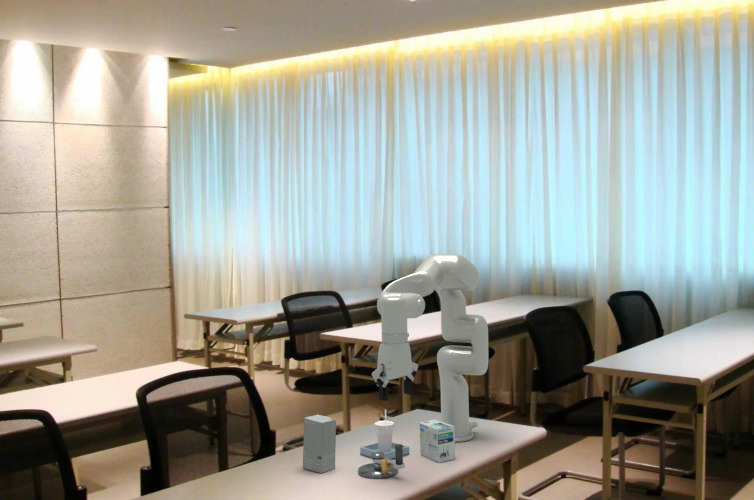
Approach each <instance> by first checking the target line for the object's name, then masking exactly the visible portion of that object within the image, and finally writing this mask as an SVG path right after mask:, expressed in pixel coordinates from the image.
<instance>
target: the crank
mask: <svg viewBox="0 0 754 500" xmlns="http://www.w3.org/2000/svg"><path fill="white" fill-rule="evenodd" d="M403 445H404V444H402V443H398V444H396V445H395V459H393V460H391V459H387V458H384V453H383V452H372V453H371V458H370V459H372V463H374V462H375V463H379V464H381V459H387V463H388V466H389V467H393V468H396V469H398V470H401V469H404V468H405V467H406V466H405V465H406V463H405V462H404V456H403Z"/></svg>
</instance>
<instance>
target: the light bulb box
mask: <svg viewBox="0 0 754 500" xmlns="http://www.w3.org/2000/svg"><path fill="white" fill-rule="evenodd" d="M419 446H420V447H419V449H420V451H419V452H420V456H423V457H425V458H427V459H430V460H432V461H434V462H436V463H442V462H449V461H453V460H456V442H455V429H454V426H453V425H450V424H446V423H444V422H441V420H438V419H430V420H425V421H420V422H419Z"/></svg>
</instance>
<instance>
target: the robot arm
mask: <svg viewBox="0 0 754 500" xmlns="http://www.w3.org/2000/svg"><path fill="white" fill-rule="evenodd" d="M479 283H480V274H479V271H478V269H477V267H476V266H475V264H473V263H472V262H471V261H470V260H468V259H467V258H466V257H465V256H463V255H460V254H456V253H455V254H454V253H449V254H448V253H436V254H430V255H428V256H427V257H426V258H424V259H423V261H422V262H421V263H420V264H419V266H418V267H417V268H416V269H415V271H413V273H411V274H408V275H406V276H403V277H401V278H398V279H397V280H394V281H392V282H390V283H388V285H386V286H385V288H384V289H382V292H381V293H380V295H379V297H378V298H377V301H376V302H377V303H376V308H377V312H378V314H379V315H380V320H381V321H380V323H381V324H380V325H381V343H380V344H379V348H378V353H377V366H376V367H377V368H375V370H374V371H372V373H371V376H372V378H373V381H374V383H375V384H376V386H377V387H378V395H379V396H378V398H379V400H381V401H384V402H387V401H389V387H388V386H387V385H388V383H389V382H390V381H391V380H395V379H400V378H404V380H403V394H405V395H409V396H412V395H414V390H413V389H414V388H413V382H414V381H415V377H416V376H417V373H418V372H417V371H418V368H419V363H418V364H417V363H416V362H413V361H412V360H413V359H412V351H411V346H410V342H409V341H408V338H409V337H410V333H409V332H408V319H417V318H419V317H421V316H422V315H423V313H424V311H425V309H426V301H425V300H424V298H423V297H427V296H430V295H431V294H432V293H434V291H435V292H436V293H437V295H438V297H439V302H440V324H441V325H440V331H441V337H442V338H443V339H444V340H445V341H447V342H453V343H469V344H471V346H464V345H445V346H443V347H441V348H440V349H439V350H438V352H437V354H436V363H437V366H438V367H437V368H438V373H439V382H440V414H441V415H440V416H441V417H440V419H441V420H440V421H441V422H444V423H446V424H450V425H453V426H454V429H455V443H459V442H467V441H471V440H472V439H474V437H475V435H474V434H475V433H474V432H473V431H472V429H474V428H477V427H478V426H479V423H478V422H477V421H473V422H470V411H469V410H470V408H469V407H470V406H469V403H470V402H469V398H470V397H469V385H468V382H467V380H466V378H465V377H464V376H463V375H465V376H466V375H467V376H482V375H484V374H486V373H487V371H488V368H489V367H488V366H489V327H488V322H487V320H486V318H485V317H484V316H482V315H480V314H467V306H466V304H467V302H466V297H465V295H464V294H463V292H462V291H472V290H475V289H476V288H477V287H478V284H479Z"/></svg>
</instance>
